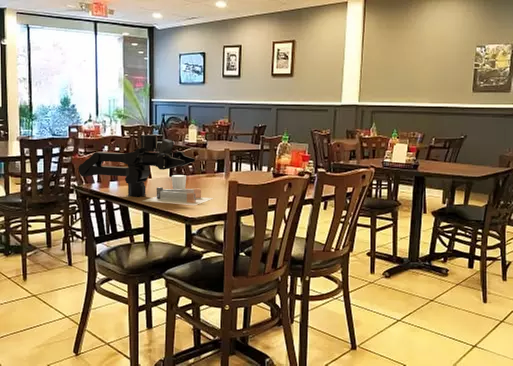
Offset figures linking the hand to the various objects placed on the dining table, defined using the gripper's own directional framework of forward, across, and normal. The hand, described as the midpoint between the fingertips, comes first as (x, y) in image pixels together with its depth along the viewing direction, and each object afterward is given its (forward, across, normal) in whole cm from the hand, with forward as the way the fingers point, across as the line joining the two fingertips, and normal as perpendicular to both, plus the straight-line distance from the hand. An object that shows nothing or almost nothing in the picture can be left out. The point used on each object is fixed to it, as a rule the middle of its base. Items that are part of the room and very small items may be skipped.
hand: (189, 161), depth 212 cm
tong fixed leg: (-3, -5, +16) cm, 17 cm away
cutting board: (-4, -2, +17) cm, 17 cm away
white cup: (-17, +24, +17) cm, 34 cm away
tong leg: (-6, +1, +16) cm, 17 cm away
